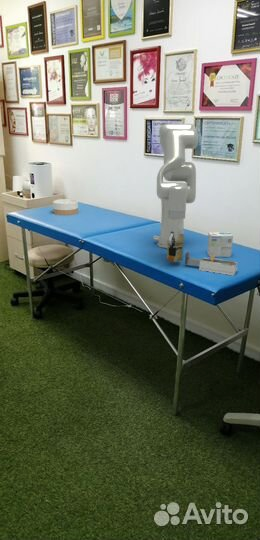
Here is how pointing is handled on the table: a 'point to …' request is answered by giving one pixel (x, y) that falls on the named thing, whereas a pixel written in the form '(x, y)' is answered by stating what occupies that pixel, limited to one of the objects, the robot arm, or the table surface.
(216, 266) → the gauge rail
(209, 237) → the light bulb box
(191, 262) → the plunger
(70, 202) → the bowl
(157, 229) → the table surface
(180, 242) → the shoe polish box
